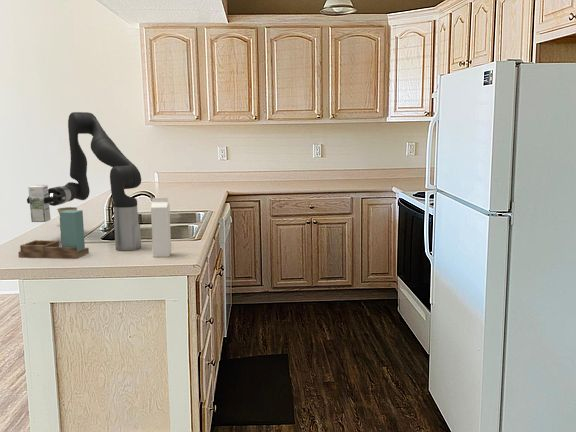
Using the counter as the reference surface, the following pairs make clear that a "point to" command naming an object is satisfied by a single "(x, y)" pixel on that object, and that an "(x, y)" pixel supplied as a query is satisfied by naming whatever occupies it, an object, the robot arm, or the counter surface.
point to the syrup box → (39, 203)
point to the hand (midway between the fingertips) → (36, 200)
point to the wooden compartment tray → (49, 250)
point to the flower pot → (66, 209)
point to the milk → (161, 227)
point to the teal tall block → (72, 229)
